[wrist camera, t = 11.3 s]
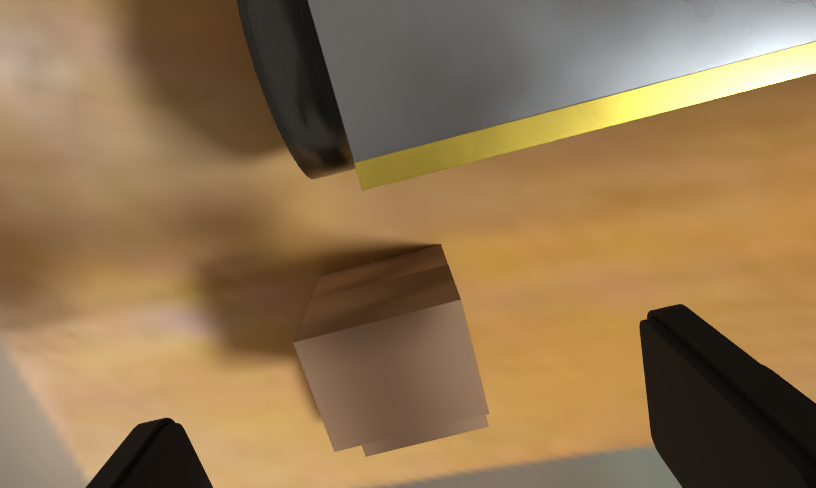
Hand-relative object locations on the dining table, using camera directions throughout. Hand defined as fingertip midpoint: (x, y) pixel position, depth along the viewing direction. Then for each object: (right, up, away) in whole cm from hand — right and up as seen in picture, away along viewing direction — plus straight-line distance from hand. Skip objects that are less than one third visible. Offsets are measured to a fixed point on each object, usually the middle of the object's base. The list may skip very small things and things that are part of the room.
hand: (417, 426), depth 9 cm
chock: (0, 0, +10) cm, 10 cm away
